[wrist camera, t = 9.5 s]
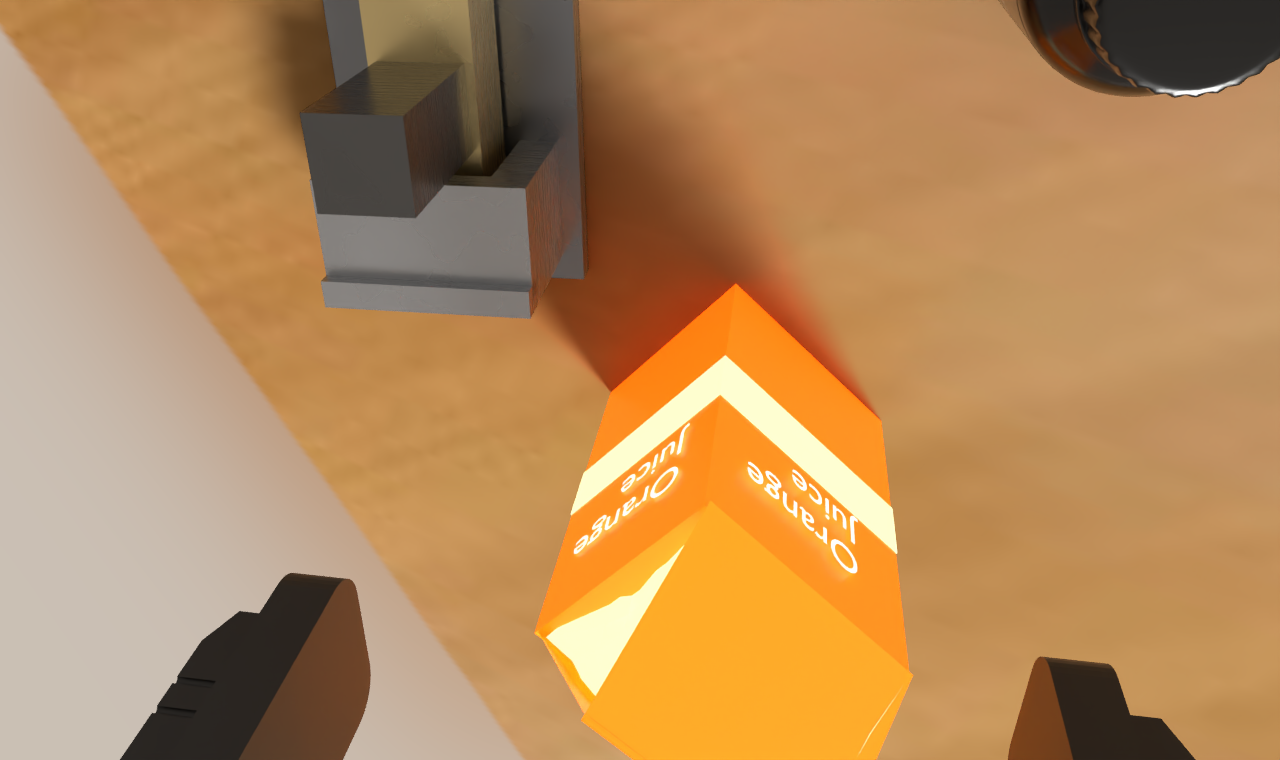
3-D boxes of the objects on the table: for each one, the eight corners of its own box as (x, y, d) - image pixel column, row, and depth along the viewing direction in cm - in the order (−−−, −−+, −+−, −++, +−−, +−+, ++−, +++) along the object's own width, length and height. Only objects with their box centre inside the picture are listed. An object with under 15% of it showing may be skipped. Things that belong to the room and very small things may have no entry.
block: (358, -277, 32) (216, -292, 24) (471, -279, 32) (363, -295, 24) (419, 213, 40) (326, 319, 32) (510, 217, 40) (438, 325, 32)
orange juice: (750, 517, 47) (717, 946, 30) (607, 392, 45) (482, 780, 27) (886, 419, 43) (936, 842, 26) (738, 278, 41) (687, 642, 24)
